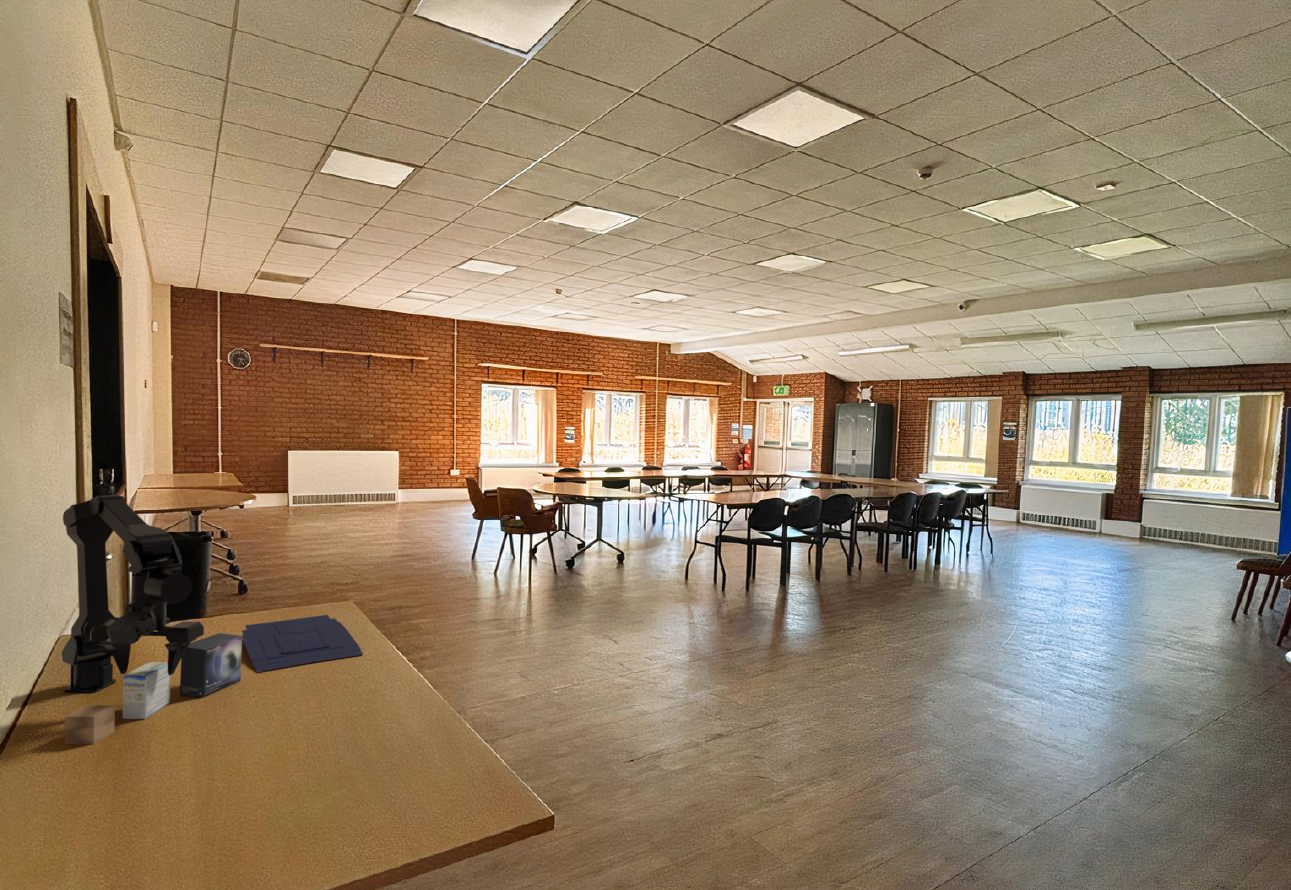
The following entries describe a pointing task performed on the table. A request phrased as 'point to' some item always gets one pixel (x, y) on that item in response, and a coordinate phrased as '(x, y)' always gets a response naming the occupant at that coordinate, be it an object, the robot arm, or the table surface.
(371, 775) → the table surface
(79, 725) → the light brown cube
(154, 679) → the medicine box
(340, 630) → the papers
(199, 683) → the small box
